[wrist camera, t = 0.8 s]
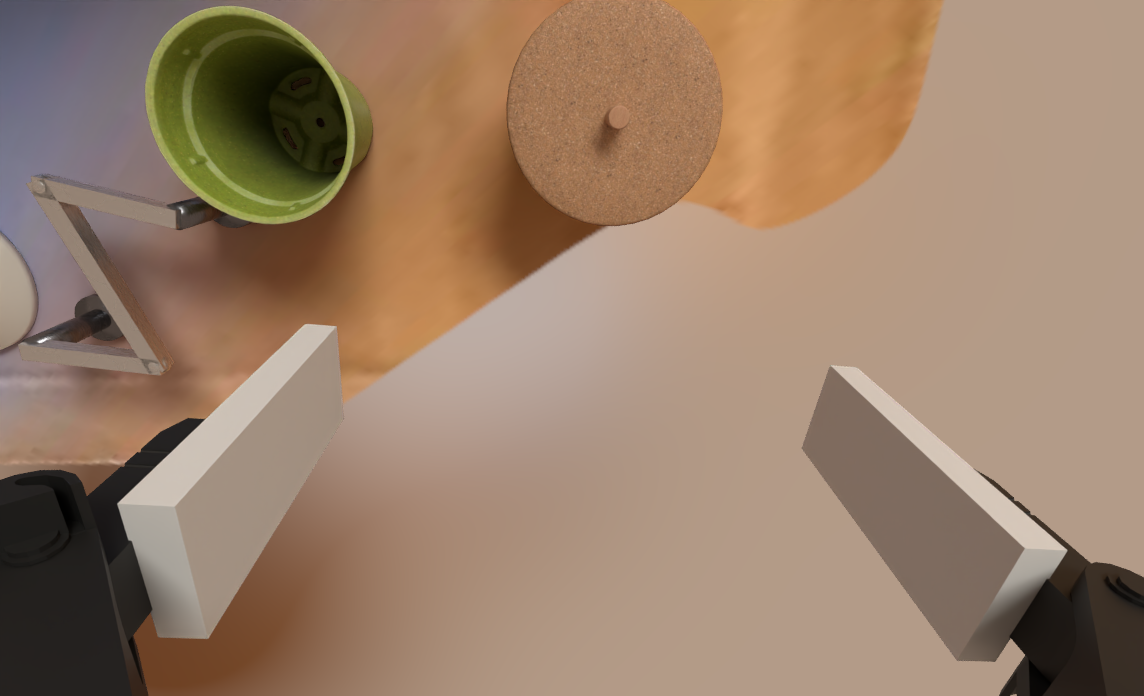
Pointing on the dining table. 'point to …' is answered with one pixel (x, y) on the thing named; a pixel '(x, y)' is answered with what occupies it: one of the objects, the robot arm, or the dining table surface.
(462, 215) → the dining table surface
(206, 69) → the plant pot
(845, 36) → the dining table surface
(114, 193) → the zigzag bar on posts
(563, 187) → the lidded jar
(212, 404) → the dining table surface
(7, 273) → the pad
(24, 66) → the dining table surface
